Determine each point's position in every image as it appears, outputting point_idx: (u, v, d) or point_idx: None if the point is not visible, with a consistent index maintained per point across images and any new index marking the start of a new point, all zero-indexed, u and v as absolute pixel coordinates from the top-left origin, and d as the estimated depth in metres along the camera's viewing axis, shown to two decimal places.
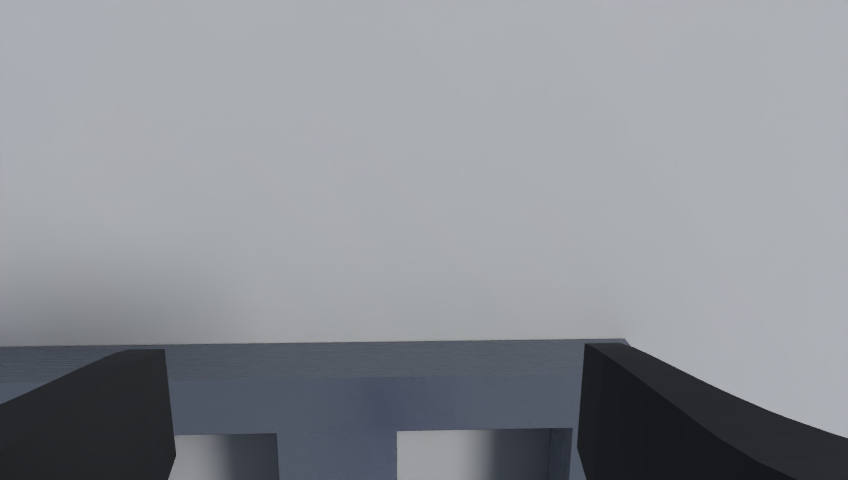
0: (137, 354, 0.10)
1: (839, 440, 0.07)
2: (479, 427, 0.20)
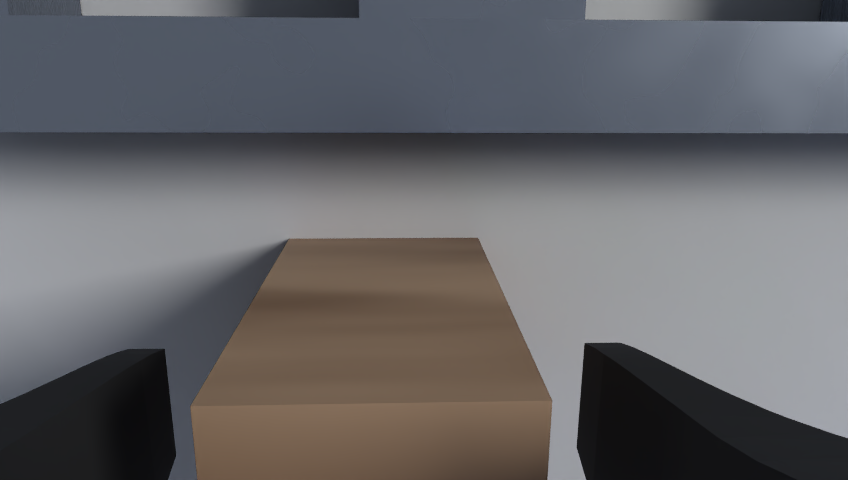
0: (137, 354, 0.10)
1: (839, 440, 0.07)
2: None
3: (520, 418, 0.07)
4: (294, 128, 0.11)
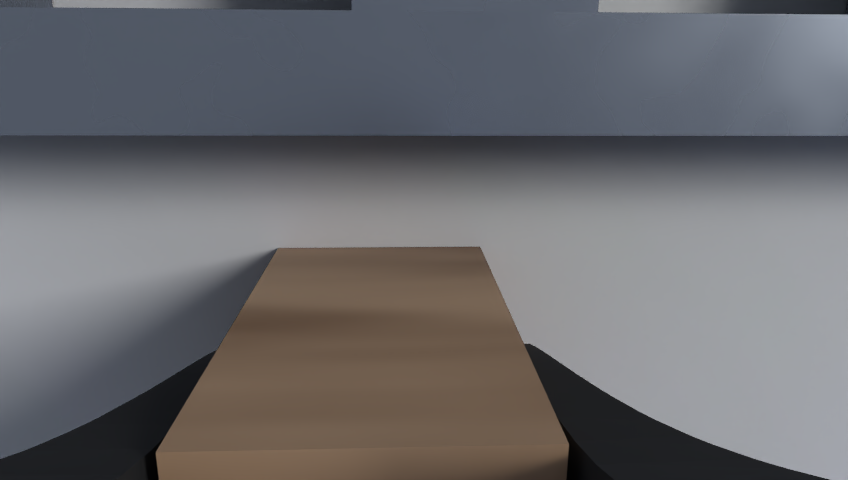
0: None
1: (694, 443, 0.07)
2: None
3: (532, 464, 0.07)
4: (281, 131, 0.10)
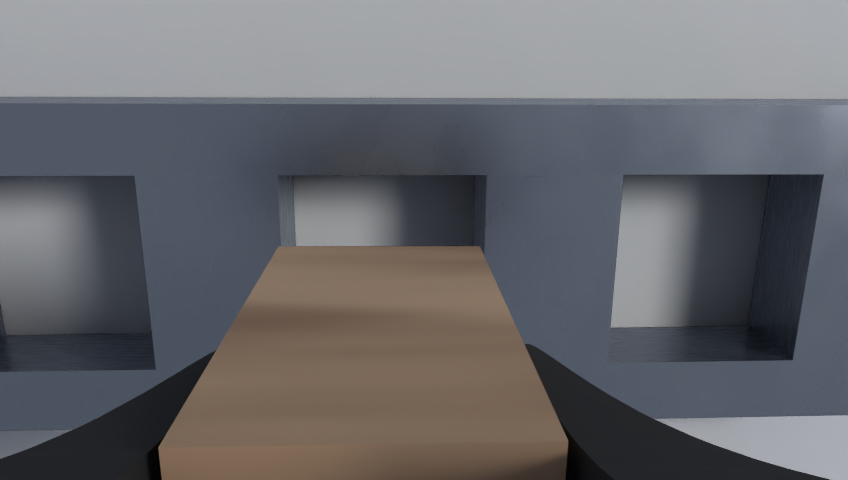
0: None
1: (694, 443, 0.07)
2: (718, 171, 0.17)
3: (532, 461, 0.07)
4: None
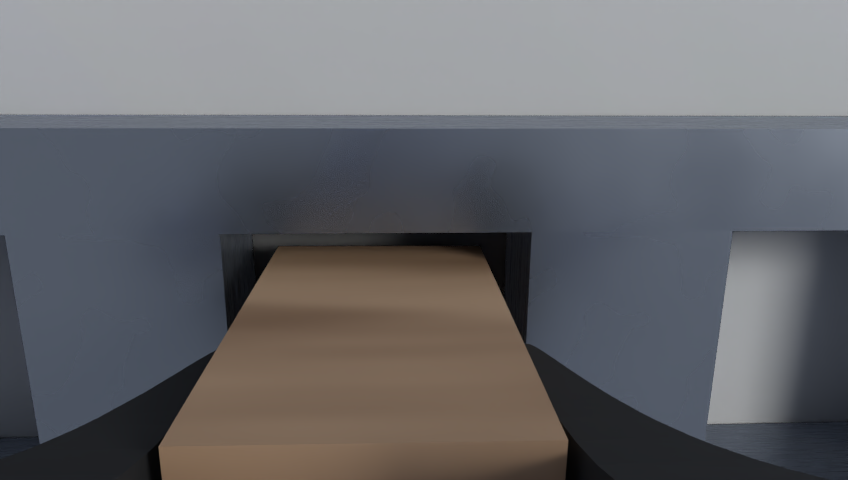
0: None
1: (694, 443, 0.07)
2: None
3: (532, 460, 0.07)
4: None
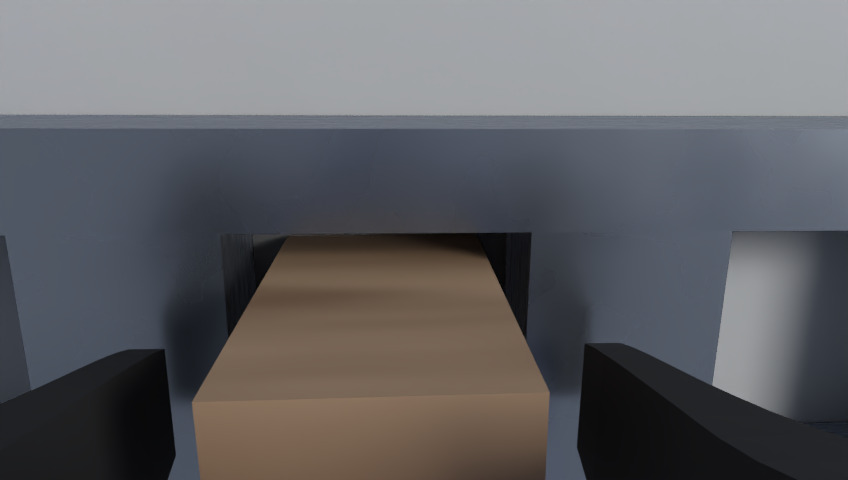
0: (137, 354, 0.10)
1: (839, 440, 0.07)
2: None
3: (518, 410, 0.08)
4: None
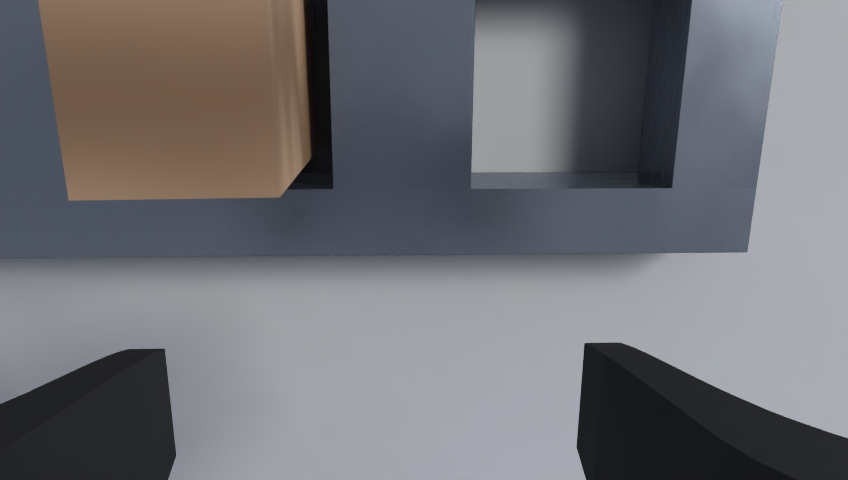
0: (137, 354, 0.10)
1: (839, 440, 0.07)
2: None
3: None
4: None
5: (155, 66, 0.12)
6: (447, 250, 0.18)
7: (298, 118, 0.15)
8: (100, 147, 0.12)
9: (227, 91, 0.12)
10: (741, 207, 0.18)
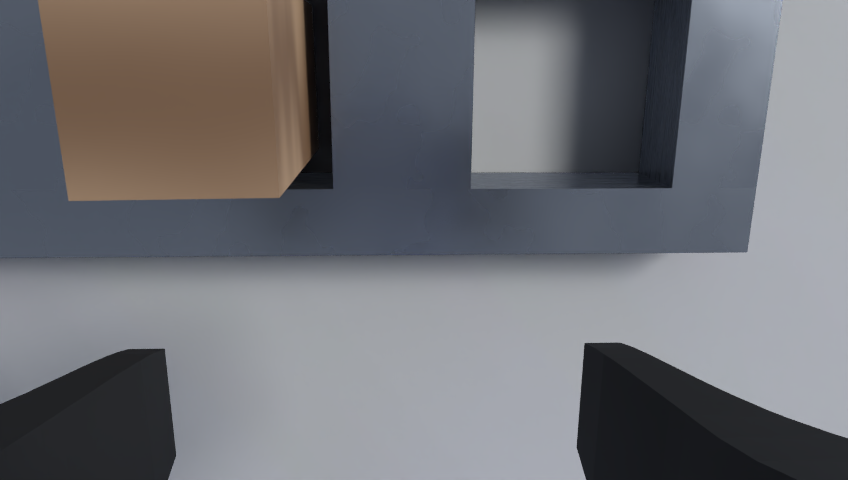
0: (137, 354, 0.10)
1: (839, 440, 0.07)
2: None
3: None
4: None
5: (155, 67, 0.12)
6: (447, 250, 0.18)
7: (298, 118, 0.15)
8: (100, 147, 0.12)
9: (227, 92, 0.12)
10: (741, 207, 0.18)
